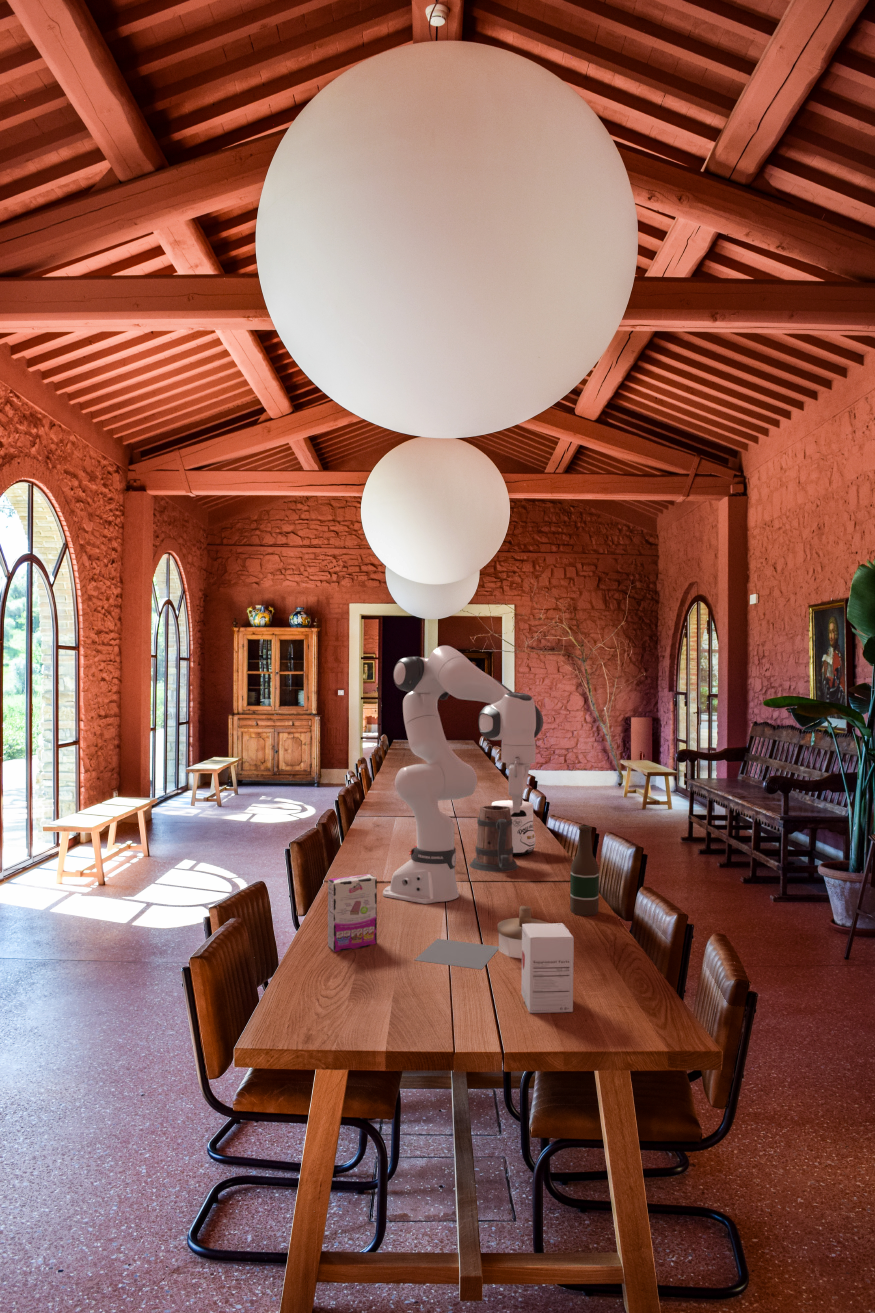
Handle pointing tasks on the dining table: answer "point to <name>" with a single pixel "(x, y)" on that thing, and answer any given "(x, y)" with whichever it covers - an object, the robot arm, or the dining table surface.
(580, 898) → the beer bottle
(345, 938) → the candy bar box
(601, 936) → the dining table surface
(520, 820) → the milk container
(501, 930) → the lid
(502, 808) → the tankard
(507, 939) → the bowl
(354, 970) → the dining table surface
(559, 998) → the supplement box
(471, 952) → the mat
